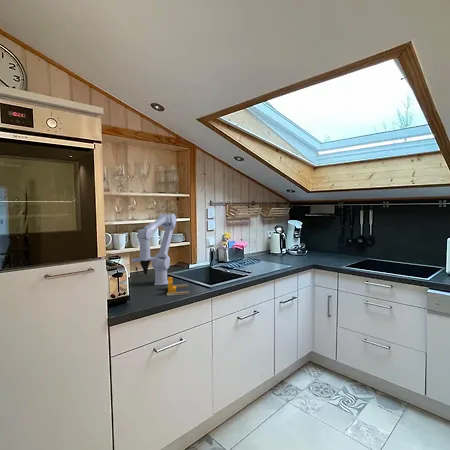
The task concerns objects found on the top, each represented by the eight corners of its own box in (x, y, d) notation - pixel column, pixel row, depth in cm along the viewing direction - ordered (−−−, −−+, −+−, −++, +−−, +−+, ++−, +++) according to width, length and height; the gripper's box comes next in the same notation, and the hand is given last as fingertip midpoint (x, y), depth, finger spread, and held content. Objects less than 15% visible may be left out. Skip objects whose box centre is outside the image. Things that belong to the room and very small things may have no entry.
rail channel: (167, 287, 178) (167, 285, 177) (188, 286, 179) (188, 284, 179) (167, 295, 162) (166, 293, 162) (189, 294, 164) (189, 292, 164)
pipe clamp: (176, 293, 165) (175, 282, 165) (168, 294, 165) (167, 282, 164) (175, 287, 177) (175, 277, 177) (168, 288, 176) (167, 277, 176)
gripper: (130, 252, 166) (131, 276, 167) (157, 250, 168) (158, 274, 169) (132, 250, 173) (133, 273, 174) (158, 249, 175) (158, 272, 176)
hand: (145, 274), depth 172 cm, fingers closed
